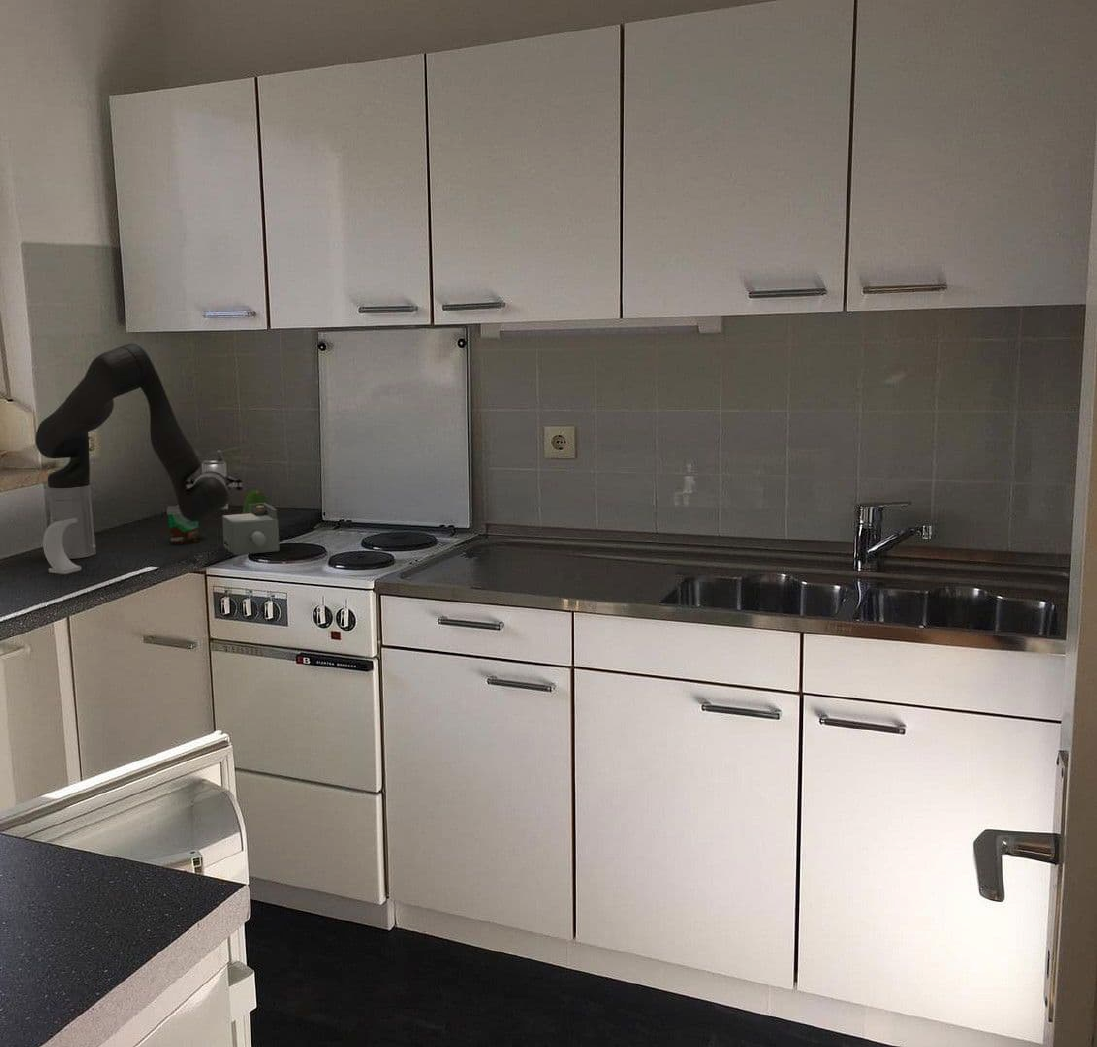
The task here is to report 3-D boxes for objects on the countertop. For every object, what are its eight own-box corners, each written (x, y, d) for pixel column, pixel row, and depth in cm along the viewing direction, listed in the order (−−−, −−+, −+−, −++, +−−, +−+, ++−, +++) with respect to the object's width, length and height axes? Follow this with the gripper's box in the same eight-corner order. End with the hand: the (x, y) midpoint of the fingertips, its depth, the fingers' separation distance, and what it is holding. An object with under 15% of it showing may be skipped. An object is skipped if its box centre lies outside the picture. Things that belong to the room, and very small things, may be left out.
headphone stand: (65, 574, 238) (60, 521, 236) (45, 571, 241) (40, 519, 239) (81, 569, 243) (77, 518, 240) (61, 567, 245) (57, 516, 243)
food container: (193, 545, 271) (190, 506, 269) (169, 545, 271) (166, 506, 269) (209, 536, 283) (206, 499, 281) (186, 536, 283) (183, 499, 281)
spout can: (206, 510, 254) (203, 452, 252) (202, 507, 259) (198, 450, 257) (230, 509, 257) (227, 451, 255) (226, 506, 262) (222, 449, 260)
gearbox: (237, 557, 255) (235, 515, 254) (223, 546, 268) (221, 506, 266) (282, 553, 261) (280, 511, 259) (267, 542, 274) (265, 502, 272)
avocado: (239, 537, 281) (237, 492, 279) (248, 531, 289) (246, 488, 287) (269, 537, 281) (267, 492, 279) (277, 531, 289) (275, 488, 287)
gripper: (241, 472, 244) (245, 464, 260) (175, 474, 241) (183, 466, 257) (243, 504, 245) (247, 494, 262) (177, 506, 242) (185, 496, 259)
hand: (215, 480), depth 259 cm, fingers closed on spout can, 5 cm apart
